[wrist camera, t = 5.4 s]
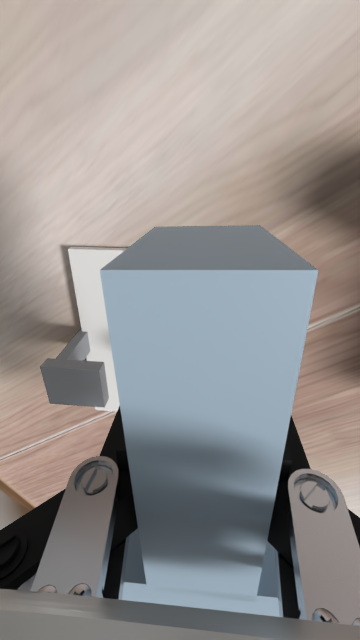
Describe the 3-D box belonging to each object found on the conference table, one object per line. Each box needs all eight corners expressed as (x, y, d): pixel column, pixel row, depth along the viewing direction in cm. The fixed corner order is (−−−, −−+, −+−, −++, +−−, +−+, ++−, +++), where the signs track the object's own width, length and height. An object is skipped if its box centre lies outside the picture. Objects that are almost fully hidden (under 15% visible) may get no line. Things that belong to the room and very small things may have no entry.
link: (261, 587, 17) (279, 726, 13) (143, 575, 18) (122, 703, 14) (332, 224, 8) (479, 270, 4) (89, 227, 9) (-29, 270, 4)
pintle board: (68, 246, 27) (15, 273, 20) (286, 252, 26) (318, 284, 18) (95, 403, 36) (65, 462, 29) (257, 415, 35) (270, 481, 27)
